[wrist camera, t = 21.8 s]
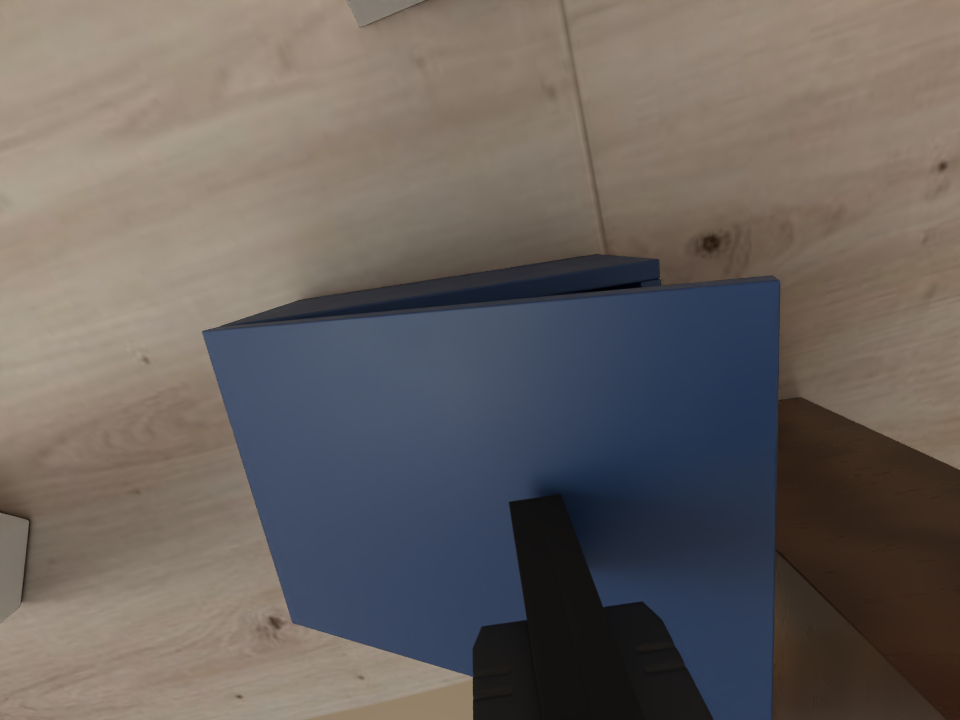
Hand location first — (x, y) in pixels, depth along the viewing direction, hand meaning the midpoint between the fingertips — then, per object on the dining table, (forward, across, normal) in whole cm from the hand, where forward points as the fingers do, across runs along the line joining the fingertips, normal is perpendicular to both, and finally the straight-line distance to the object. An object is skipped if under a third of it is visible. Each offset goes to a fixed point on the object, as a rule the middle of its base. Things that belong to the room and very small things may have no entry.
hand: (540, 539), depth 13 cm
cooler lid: (+3, -3, 0) cm, 4 cm away
